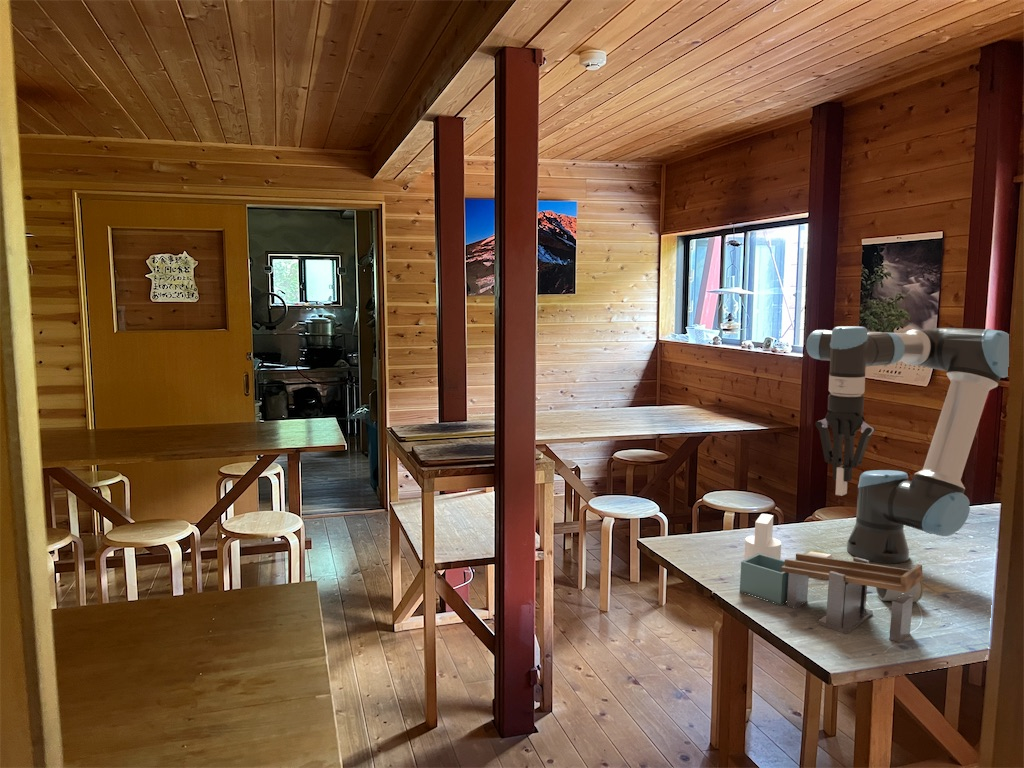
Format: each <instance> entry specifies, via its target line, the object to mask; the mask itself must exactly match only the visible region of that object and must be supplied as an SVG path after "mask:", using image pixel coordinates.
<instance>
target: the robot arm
mask: <svg viewBox="0 0 1024 768" xmlns="http://www.w3.org/2000/svg"><path fill="white" fill-rule="evenodd" d="M1009 335H1010V334H1009V333H1008V332H1005V331H1003V330H997V329H991V328H985V329H982V328H965V327H963V328H962V327H961V328H959V327H935V328H926V329H910V330H907V331H905V332H887V331H886V332H882V331H868V329H867V328H866V327H865V326H858V325H857V326H855V325H853V326H851V325H850V326H848V325H846V326H843V325H840V326H835V327H834V328H832V330H831V329H830V330H828V329H816V330H813V331H812V332H810V334H809V335H808V337H807V340H806V343H805V345H806V346H805V347H806V352H807V354H808V355H809V357H810V358H812V359H815V360H820V361H829V374H828V392H829V394H828V396H827V413H826V415H825V418H823V419H820V420H818V421H815V424H814V425H815V427H816V428H817V430H818V432H819V439H820V442H821V448H822V452H823V458H824V462H825V463H828V464H831V466H832V475H831V476H832V479H833V480H835V496H841V497H842V496H845V495H847V494H848V483H849V482H851V480H852V475H853V468H857V467H859V466H861V465H862V463H863V459H864V457H865V453H866V449H867V448H868V443H869V441H870V438H871V436H872V435H873V433H874V432H875V431H876V428H875V426H870V424H868V423H867V422H866V419H865V417H864V407H865V406H864V405H865V397H864V396H863V394H865V392H866V391H865V388H866V371H867V370H866V369H867V367H878V366H884V367H887V366H890V365H894V364H897V363H898V362H899V363H900V362H902V363H904V364H906V365H908V366H918V367H919V366H920V367H923V368H924V367H925V368H928V369H934V370H938V371H942V372H943V371H945V372H946V373H945V374H946V376H947V378H948V379H949V381H950V384H949V387H948V390H947V393H946V396H945V398H944V399H945V400H944V402H943V406H942V408H941V411H940V414H939V418H938V420H937V424H936V426H935V427H936V428H935V430H934V433H933V437H932V440H931V442H930V445H929V448H928V451H927V454H926V459H925V460H924V464H923V468H922V469H921V470H919V471H917V472H915V473H914V474H913V476H912V480H909V475H908V473H907V472H905V471H901V470H891V469H878V470H875V469H873V470H866V471H864V472H862V473H861V474H860V476H859V481H858V485H857V501H856V516H855V517H856V518H855V524H854V526H853V528H852V531H851V532H850V535H849V536H848V539H847V543H846V550H847V552H848V553H849V554H851V555H852V556H853V557H858V558H861V559H865V560H869V562H874V563H882V564H901V563H905V562H907V561H908V560H909V558H910V557H909V556H910V555H909V554H910V549H909V546H908V542H907V538H906V535H905V531H904V527H909V528H912V529H916V530H918V531H921V532H925V533H926V534H929V535H936V536H939V537H940V536H941V537H949V536H952V535H954V534H955V533H957V532H959V531H960V530H961V529H962V528H963V526H964V525H965V523H966V521H967V520H968V517H969V515H970V511H971V507H970V504H971V503H970V499H969V498H968V496H967V495H965V494H964V493H965V490H966V487H965V485H964V483H963V482H962V480H961V479H962V477H963V473H964V470H965V467H966V464H967V462H968V461H967V460H968V458H969V454H970V451H971V448H972V445H973V441H974V439H975V435H976V433H977V431H978V430H977V429H978V427H979V422H980V419H981V417H982V414H983V411H984V408H985V404H986V402H987V398H988V395H989V391H991V390H993V389H995V388H998V386H999V383H1000V380H1001V379H1002V378H1003V379H1005V378H1007V377H1009V376H1008V367H1009ZM829 427H830V429H831V430H832V438H833V443H832V440H831V434H830V429H829ZM859 429H861V430H860V433H861V435H860V437H859V439H858V442H857V446H856V449H855V438H856V436H857V435H856V433H857V432H858V431H859ZM843 445H844V447H843Z"/></svg>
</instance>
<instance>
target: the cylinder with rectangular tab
mask: <svg viewBox="0 0 1024 768" xmlns="http://www.w3.org/2000/svg"><path fill="white" fill-rule="evenodd" d="M754 525H755V526H754V535H748V536H746V537H745V539H744V540H745V542H744V555H743V556H744V557H743V559H744V560H746V559H748V558H750V557H752V556H754V555H756V554H758V553H759V554H762V555H766V556H769V557H773V558H776V559H780V560H781V558H782V557H781V556H782V541H781V540H780V539H778V538H776V537H773V531H774V529H773V528H774V514H773V515H772V514H768V513H761V514H760V515H759V517H757V519H756V520H755V523H754ZM744 560H743V561H744Z"/></svg>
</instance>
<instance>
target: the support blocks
mask: <svg viewBox="0 0 1024 768" xmlns="http://www.w3.org/2000/svg"><path fill="white" fill-rule="evenodd" d="M852 561H854V562H860V563H867V564H870V561H869V560H865V559H862V558H859V557H856V556H853V559H852ZM809 578H810V576H806V575H800V574H794V573H789V577H788V592H787V602H786V606H787V605H789V606H791V607H790V608H792V607H794V608H793V609H796V607H797V608H798V607H800V606H801V605H803V604H805V603H806V602H808V594H809V591H808V590H809ZM845 578H846V575H844V574H840V573H837V572H833V571H830V572H829V579H828V586H827V599H826V600H827V603H826V613H825V616H822V617H821V618H820V619H819V620H818V623H817V625H820V626H822V627H826V628H827V629H828V628H829V629H832V630H834V631H838V632H840V633H843V634H845V635H846V634H848V633H850V632H851V631H852V630H853V629H855V628H856V627H857V626H859V625H860V624H862V623H863V622H864V621H866V620H868V618H869V617H871V616H872V615H873V612H874V611H873V609H869V608H866V606H867V594H868V593H867V592H868V586H866V585H860V584H854V583H848V582H845ZM804 602H805V603H804ZM802 603H803V604H802ZM891 603H892V604H891V614H890V626H889V638H888V639H889V640H890V641H893V642H896V643H899V644H900V643H901V642H902V641H904V640H905V639H906V638H907V637H908V636H909V635H910V634H911V625H912V624H911V623H912V617H913V616H912V613H913V603H914V602H913V596H912V595H909V594H905V593H902V594H901V595H899V596H898V597H897V598H895V599H894V600H893V601H891ZM799 605H800V606H799ZM789 606H788V607H789Z"/></svg>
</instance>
